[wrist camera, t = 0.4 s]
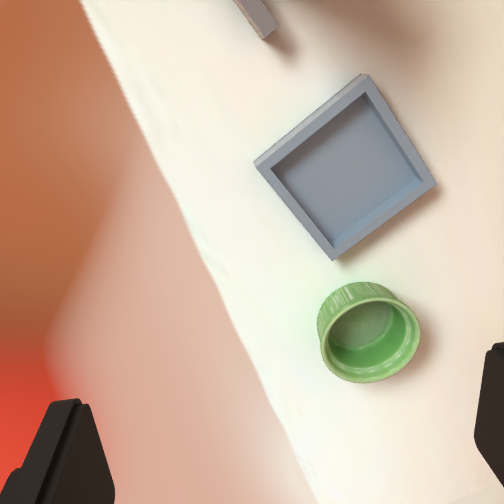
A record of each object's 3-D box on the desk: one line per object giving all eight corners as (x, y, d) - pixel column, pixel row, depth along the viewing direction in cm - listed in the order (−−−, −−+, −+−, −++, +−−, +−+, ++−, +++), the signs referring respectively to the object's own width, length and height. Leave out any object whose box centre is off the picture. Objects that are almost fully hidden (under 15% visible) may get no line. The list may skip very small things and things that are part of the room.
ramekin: (305, 354, 45) (315, 384, 41) (317, 274, 42) (328, 297, 38) (391, 355, 46) (409, 384, 42) (410, 276, 43) (431, 299, 39)
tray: (360, 73, 35) (368, 75, 33) (426, 177, 39) (437, 183, 37) (253, 161, 37) (255, 167, 35) (326, 251, 41) (332, 261, 39)
